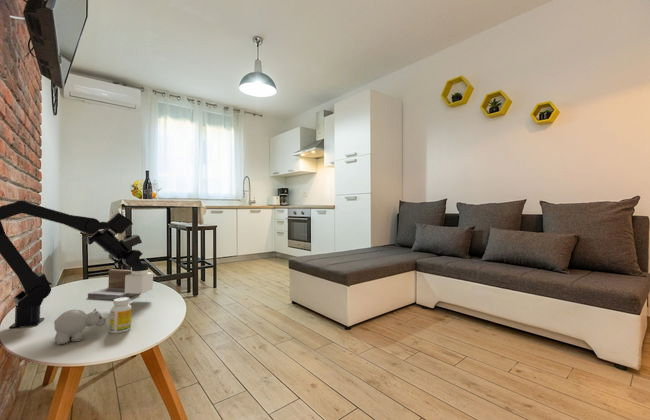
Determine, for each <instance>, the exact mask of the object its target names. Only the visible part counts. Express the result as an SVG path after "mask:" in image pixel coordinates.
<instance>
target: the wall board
mask: <svg viewBox="0 0 650 420" xmlns="http://www.w3.org/2000/svg"><path fill="white" fill-rule="evenodd" d="M129 274H132V273H131V269H114V268H111V269H108V286H107V287H106V288H102V289H99V290H95V291H91V292H88V293H87V299H93V300H111V301H112V300H113V301H114V300H115V299H117V298H123V297H127V298H130V296H131V297H133V296H136V295H138V294H137V293H125V276H126V275H129Z"/></svg>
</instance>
